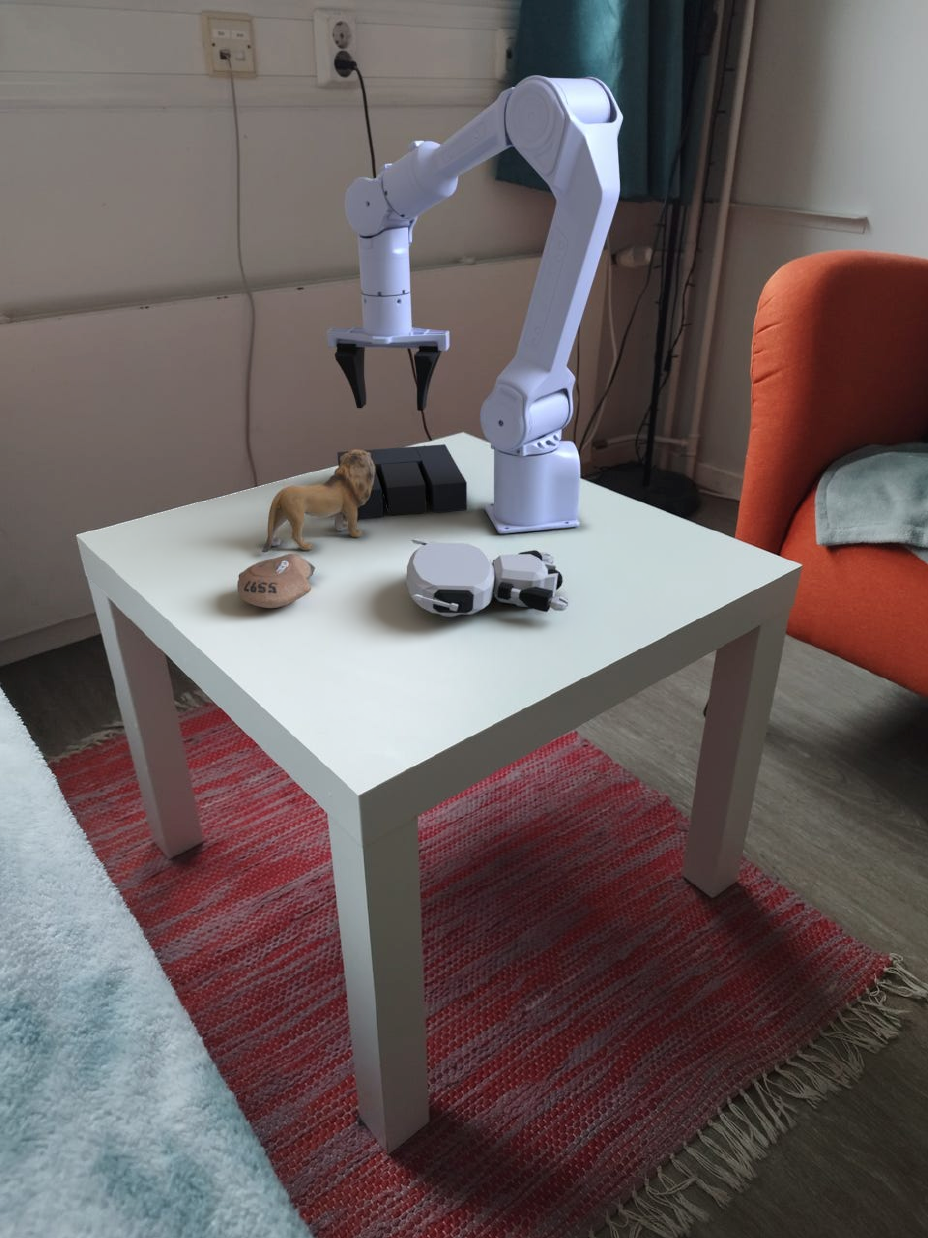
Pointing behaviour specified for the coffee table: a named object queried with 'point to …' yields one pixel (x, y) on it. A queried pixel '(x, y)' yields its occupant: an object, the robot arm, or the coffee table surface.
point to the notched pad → (436, 470)
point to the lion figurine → (324, 499)
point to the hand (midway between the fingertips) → (391, 407)
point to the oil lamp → (275, 581)
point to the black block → (403, 488)
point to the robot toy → (480, 579)
